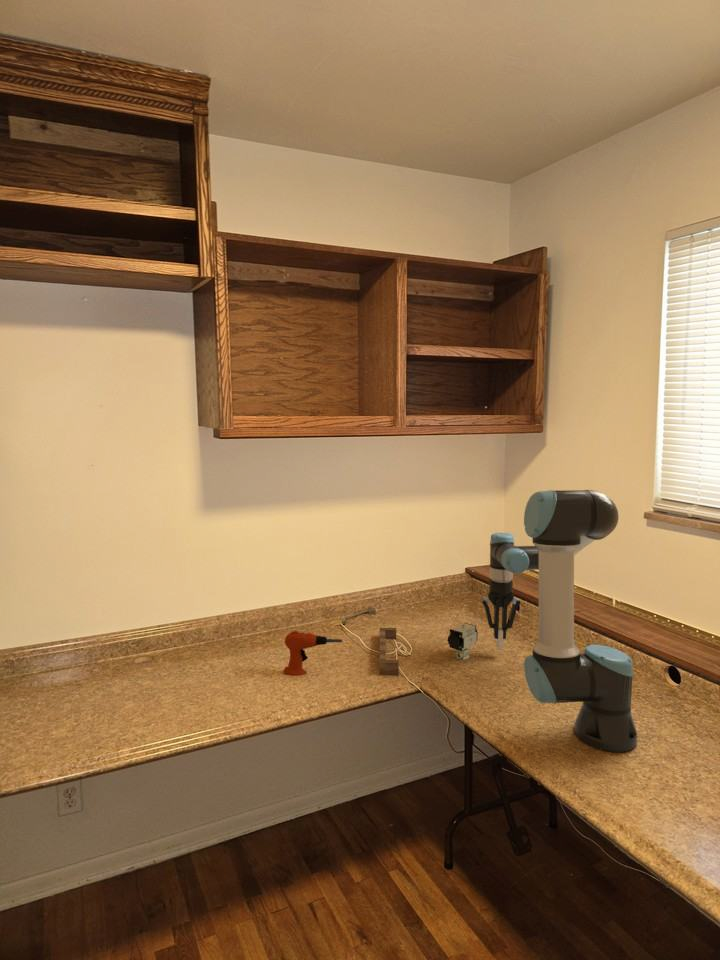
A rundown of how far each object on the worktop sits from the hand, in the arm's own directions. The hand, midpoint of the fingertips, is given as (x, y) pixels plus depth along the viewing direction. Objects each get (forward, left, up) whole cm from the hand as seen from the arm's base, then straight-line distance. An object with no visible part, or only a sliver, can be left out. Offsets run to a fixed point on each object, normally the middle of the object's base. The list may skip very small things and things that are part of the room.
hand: (499, 647), depth 201 cm
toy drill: (-15, +61, -4) cm, 63 cm away
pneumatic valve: (0, +12, -4) cm, 13 cm away
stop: (0, +39, -4) cm, 40 cm away
